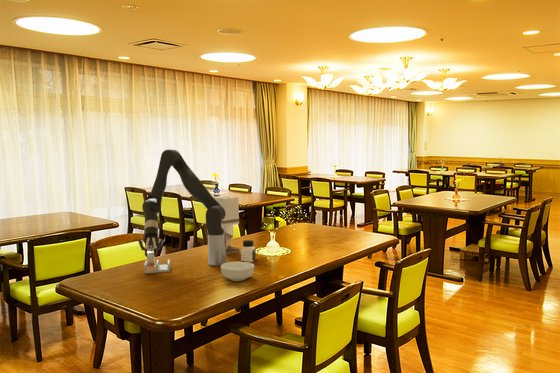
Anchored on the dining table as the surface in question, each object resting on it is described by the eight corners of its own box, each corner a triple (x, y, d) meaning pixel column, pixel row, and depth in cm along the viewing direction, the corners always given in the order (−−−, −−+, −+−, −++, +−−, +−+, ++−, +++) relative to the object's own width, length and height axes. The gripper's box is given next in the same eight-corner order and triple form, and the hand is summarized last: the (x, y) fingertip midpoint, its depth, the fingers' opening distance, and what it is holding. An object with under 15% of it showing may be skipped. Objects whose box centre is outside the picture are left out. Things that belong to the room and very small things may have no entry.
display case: (224, 254, 282) (223, 198, 278) (215, 251, 290) (213, 197, 286) (239, 251, 289) (238, 197, 286) (229, 248, 297) (228, 195, 294)
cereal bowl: (240, 285, 219) (240, 271, 218) (214, 280, 228) (214, 266, 227) (260, 277, 233) (260, 263, 233) (235, 272, 242) (234, 259, 241)
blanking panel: (148, 262, 251) (147, 247, 247) (154, 262, 251) (154, 246, 248) (147, 268, 245) (146, 253, 241) (154, 268, 246) (153, 252, 242)
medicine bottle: (252, 262, 263) (252, 241, 262) (240, 261, 264) (240, 241, 263) (255, 259, 270) (255, 239, 269) (244, 258, 271) (244, 238, 270)
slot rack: (145, 267, 252) (145, 260, 252) (169, 266, 255) (169, 259, 255) (144, 273, 242) (144, 265, 241) (169, 271, 245) (169, 263, 244)
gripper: (137, 226, 251) (136, 252, 240) (164, 225, 254) (164, 251, 243) (138, 234, 256) (137, 260, 245) (164, 233, 260) (164, 258, 249)
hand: (150, 255), depth 244 cm, fingers closed on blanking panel, 3 cm apart
